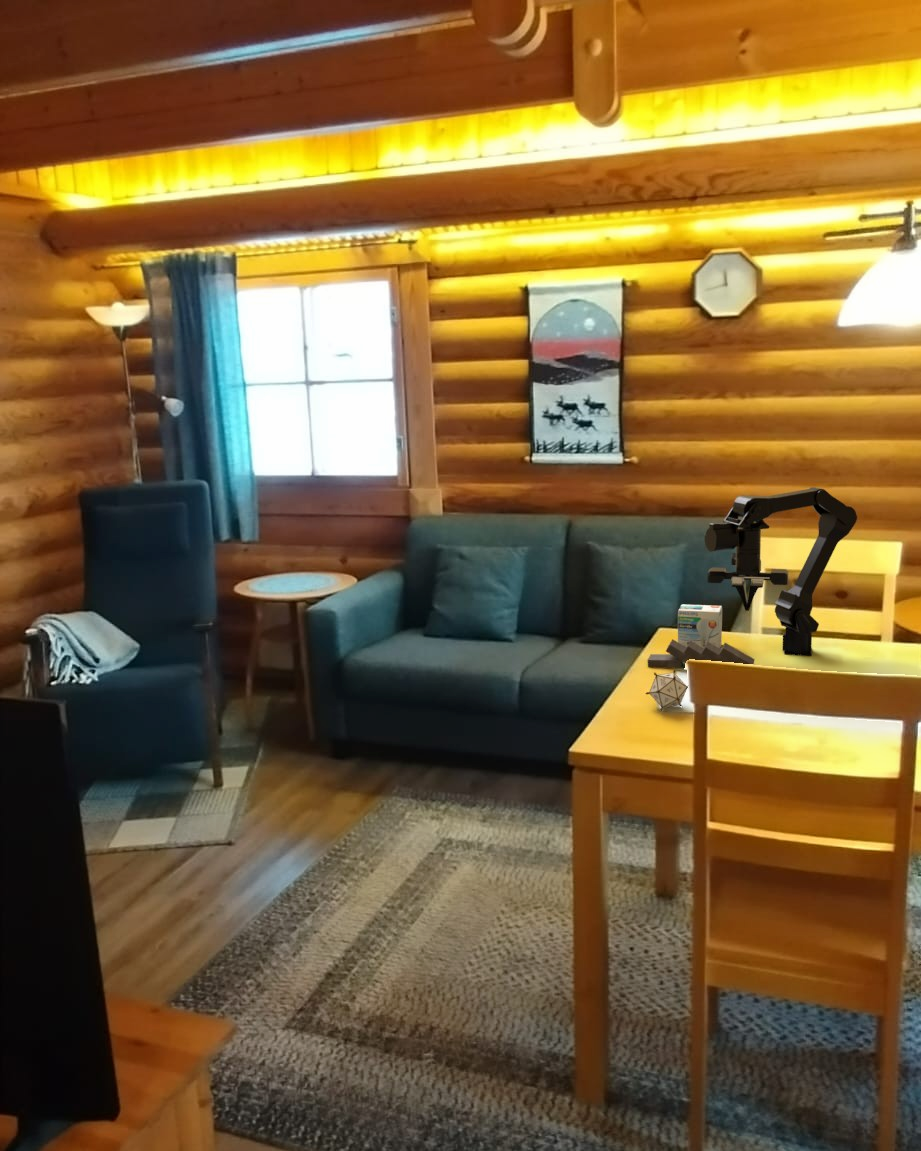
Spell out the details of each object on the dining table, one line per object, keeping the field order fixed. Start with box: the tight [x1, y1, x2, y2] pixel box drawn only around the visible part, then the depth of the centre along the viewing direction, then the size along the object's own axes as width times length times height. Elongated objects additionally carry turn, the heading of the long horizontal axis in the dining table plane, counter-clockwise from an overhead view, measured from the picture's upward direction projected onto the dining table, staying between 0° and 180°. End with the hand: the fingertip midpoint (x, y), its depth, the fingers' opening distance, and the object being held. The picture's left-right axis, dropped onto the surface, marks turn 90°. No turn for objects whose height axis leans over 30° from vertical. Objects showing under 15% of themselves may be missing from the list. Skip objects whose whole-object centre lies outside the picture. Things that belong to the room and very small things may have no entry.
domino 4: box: [702, 642, 730, 662], centre depth 245 cm, size 2×5×8 cm
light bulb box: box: [677, 603, 723, 649], centre depth 263 cm, size 11×7×11 cm, turn 70°
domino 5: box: [719, 642, 755, 665], centre depth 244 cm, size 2×5×8 cm
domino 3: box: [684, 641, 713, 661], centre depth 247 cm, size 2×5×8 cm
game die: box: [645, 669, 689, 712], centre depth 220 cm, size 9×8×10 cm
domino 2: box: [665, 638, 693, 663], centre depth 248 cm, size 2×5×8 cm
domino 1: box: [647, 653, 684, 669], centre depth 250 cm, size 2×5×8 cm
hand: (747, 610), depth 250 cm, fingers closed
